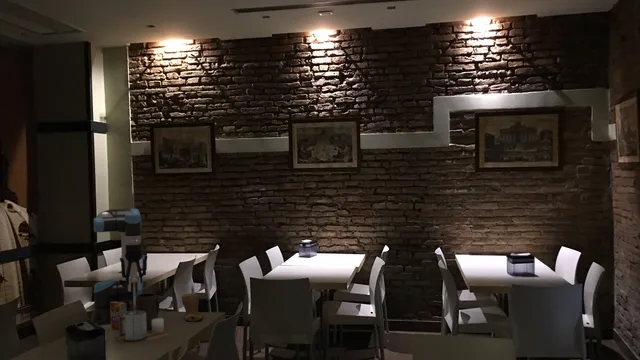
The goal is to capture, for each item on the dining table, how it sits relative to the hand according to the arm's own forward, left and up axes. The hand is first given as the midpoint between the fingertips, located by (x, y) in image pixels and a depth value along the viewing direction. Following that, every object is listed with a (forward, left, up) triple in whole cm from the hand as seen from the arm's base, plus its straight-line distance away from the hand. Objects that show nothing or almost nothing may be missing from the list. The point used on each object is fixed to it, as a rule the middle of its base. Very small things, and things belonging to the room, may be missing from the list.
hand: (134, 290), depth 280 cm
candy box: (-27, -2, -26) cm, 38 cm away
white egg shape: (-4, +12, -24) cm, 28 cm away
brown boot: (-27, +39, -26) cm, 54 cm away
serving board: (-1, +4, -26) cm, 26 cm away
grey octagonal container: (0, 0, -24) cm, 24 cm away
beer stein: (-18, +12, -26) cm, 34 cm away
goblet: (0, 0, -14) cm, 14 cm away
